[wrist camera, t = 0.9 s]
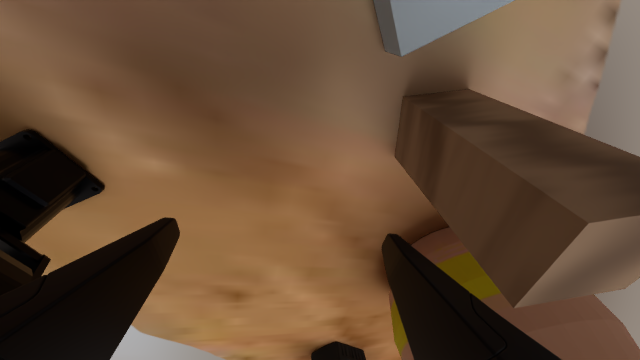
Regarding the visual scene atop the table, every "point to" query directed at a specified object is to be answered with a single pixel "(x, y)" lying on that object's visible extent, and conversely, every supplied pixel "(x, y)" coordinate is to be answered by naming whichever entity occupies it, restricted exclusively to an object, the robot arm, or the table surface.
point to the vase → (527, 310)
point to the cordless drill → (338, 353)
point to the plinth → (426, 20)
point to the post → (525, 195)
